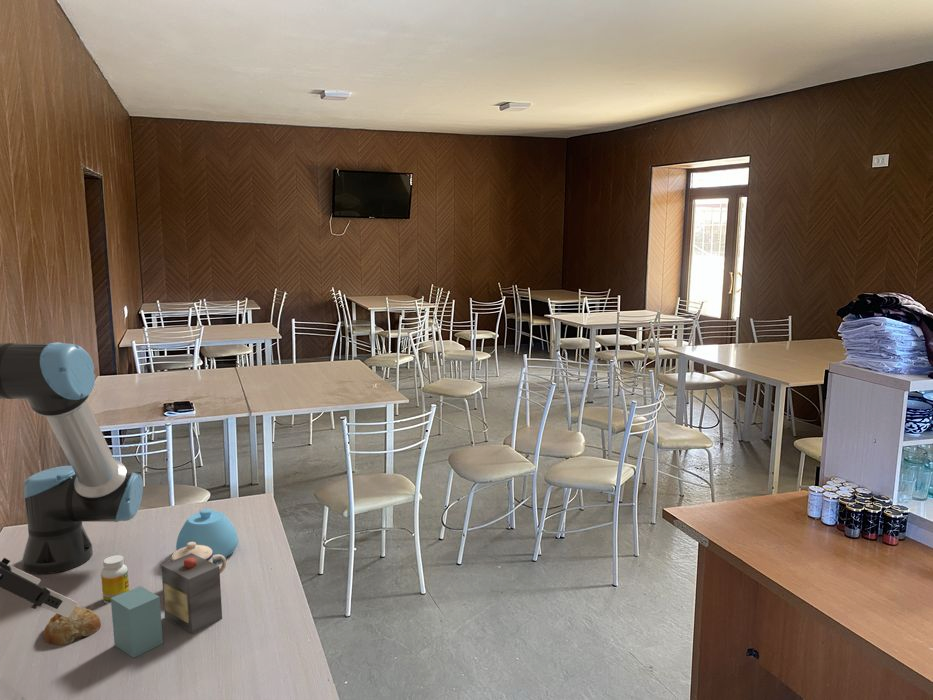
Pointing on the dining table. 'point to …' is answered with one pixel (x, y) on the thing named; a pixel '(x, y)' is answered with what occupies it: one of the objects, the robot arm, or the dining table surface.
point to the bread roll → (71, 626)
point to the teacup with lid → (199, 553)
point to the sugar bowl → (209, 532)
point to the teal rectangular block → (136, 621)
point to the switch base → (192, 592)
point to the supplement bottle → (114, 578)
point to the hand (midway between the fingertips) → (53, 597)
